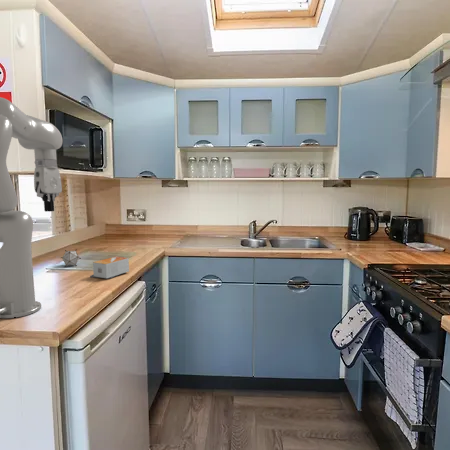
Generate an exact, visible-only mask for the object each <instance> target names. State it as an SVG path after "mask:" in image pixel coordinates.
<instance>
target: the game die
mask: <svg viewBox="0 0 450 450" xmlns="http://www.w3.org/2000/svg"><path fill="white" fill-rule="evenodd" d="M64 251H65V252H64V254H63V256H61V257H60V259H62V260H63V262H64V267H65V268H66V267H67V266H75V267H77V263H78V261H79V260H80V259H82V258H81V257H80V256H79V255H78V252H77V251H78V249H75V250H66V249H64Z"/></svg>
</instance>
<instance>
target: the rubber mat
mask: <svg viewBox="0 0 450 450" xmlns="http://www.w3.org/2000/svg"><path fill="white" fill-rule="evenodd" d="M117 276H118V275H116V276H113V277H110V278H109V279H113V278H116V277H117ZM89 277H90V278H95V279H97V278H98V279H102V278H101V277H95V276H94V273H93V274H91V275H89Z"/></svg>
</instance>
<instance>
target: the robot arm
mask: <svg viewBox="0 0 450 450" xmlns="http://www.w3.org/2000/svg"><path fill="white" fill-rule="evenodd" d="M13 138H14V139H17V141H18V143H19V145H20V146H21V147H22V148H24V149H26V150H33V153H34V167H35V168H34V170H33V171H34V174H33V175H34V176H33V187H34V192H35V193H36V197H38V198H41V200H42V202H43V207H44V212H54V211H55V203H54V202H55V199H56V197H59V196H60V194H61V193H62V192H63V188H62V177H61V174H60V170H59V168H58V164H57V161H58V160H57V150H58V149H59V150H60V148H61V147H62V146H63V140H64V139H63V137H62V133H61V132H60V130H59V129H58V128H57V127H56V126H55V125H54V124H53V123H51V122H49V121H47V120H43V119H40V118H37V117H34V116H31V115H28V114H26V113H24V112H23V111H22V110H21V109H20V108H18V106H16V105H15V104H14V103H13V102H11V100H9V99H7V98H5V97H1V96H0V243H3V244H2V245H1V247H0V319H14V317H16V318H21V317H25V316H28V315H31V314H35V313H36V312H38V311H39V310H40V309H42V303H41V302H39V301H36V293H35V292H36V291H35V280H34V268H33V255H32V253H33V252H32V239H33V238H32V237H33V231H34V230H33V229H34V223H33V221H34V220H33V218H32V216H31V215H30V213H27V212H24V211H21V210H15V209H16V208H17V206H18V204H19V201H18V196H17V192H16V189H15V186H14V184H13V181H12V178H11V175H10V173H9V169H8V166H7V156H8V152H9V149H10V145H11V141H12V139H13Z"/></svg>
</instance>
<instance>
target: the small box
mask: <svg viewBox="0 0 450 450" xmlns="http://www.w3.org/2000/svg"><path fill="white" fill-rule="evenodd" d="M129 262H130V261H129V258H128V257H122V256H113V257H108V258H105V259H100V260H97V261H92V270H93V272H92V273H93V274H94V276H95V277H101V278H100V279H111V278H110V277H113V276H115V277H117V276H119V275H122V274H125V273H127V272H128V273H129V272H130V264H129ZM116 275H117V276H116ZM95 277H94V278H95ZM113 278H114V277H113Z"/></svg>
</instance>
